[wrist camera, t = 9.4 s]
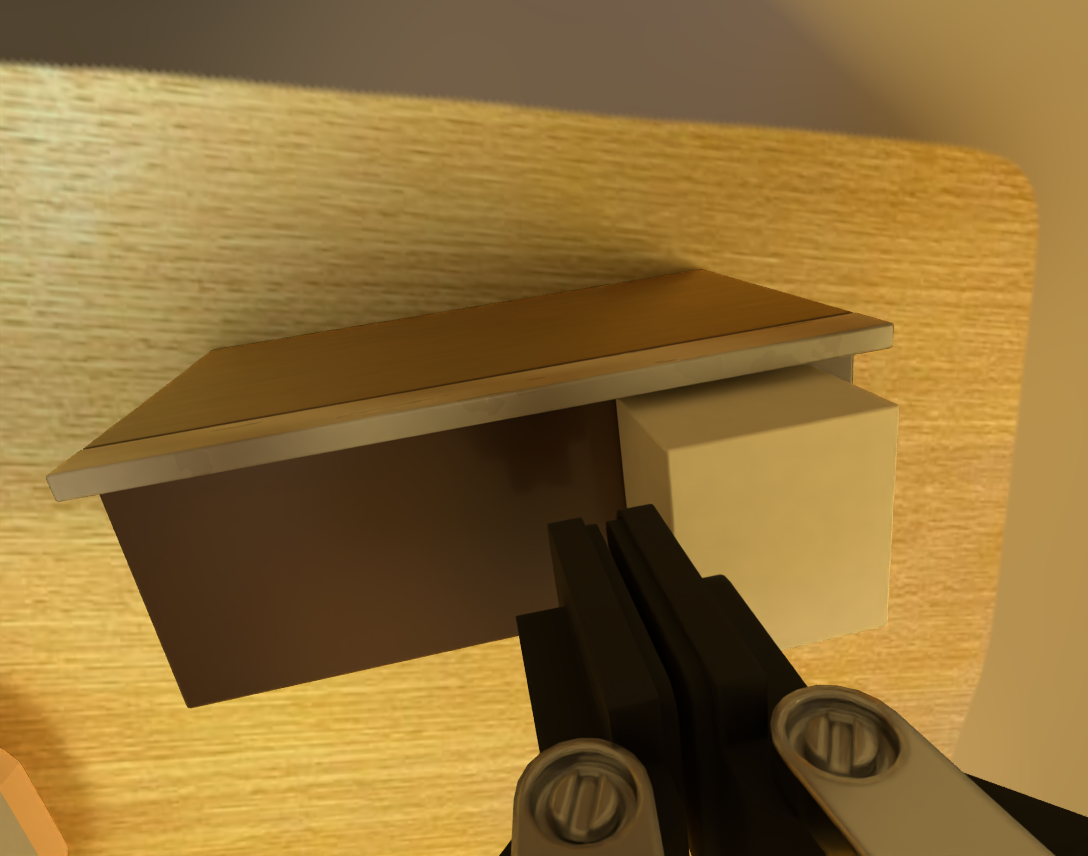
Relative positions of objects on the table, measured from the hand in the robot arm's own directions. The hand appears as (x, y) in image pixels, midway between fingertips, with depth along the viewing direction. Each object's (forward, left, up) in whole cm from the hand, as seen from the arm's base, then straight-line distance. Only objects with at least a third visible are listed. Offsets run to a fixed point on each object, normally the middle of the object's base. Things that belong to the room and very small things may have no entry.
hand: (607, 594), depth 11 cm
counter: (+1, -1, -12) cm, 12 cm away
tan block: (-3, +2, -4) cm, 5 cm away
